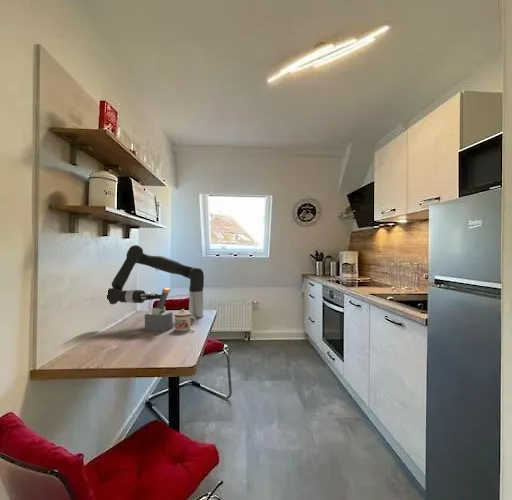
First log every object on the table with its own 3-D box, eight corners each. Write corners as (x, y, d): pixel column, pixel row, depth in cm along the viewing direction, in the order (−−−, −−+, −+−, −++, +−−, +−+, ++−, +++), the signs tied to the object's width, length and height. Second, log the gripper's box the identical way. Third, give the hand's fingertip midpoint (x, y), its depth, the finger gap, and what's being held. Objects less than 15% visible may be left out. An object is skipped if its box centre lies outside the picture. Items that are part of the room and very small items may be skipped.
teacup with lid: (173, 331, 198) (172, 310, 198) (176, 328, 207) (176, 308, 207) (194, 331, 198) (194, 310, 198) (197, 327, 207) (197, 307, 208)
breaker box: (144, 330, 202) (144, 308, 202) (154, 327, 211) (153, 305, 211) (164, 331, 199) (163, 309, 199) (172, 327, 208) (172, 306, 208)
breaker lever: (153, 311, 203) (163, 288, 201) (158, 310, 208) (167, 287, 206) (157, 313, 202) (166, 290, 201) (162, 312, 207) (170, 289, 206)
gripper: (128, 291, 202) (156, 291, 198) (141, 288, 215) (167, 288, 211) (128, 304, 202) (156, 304, 198) (141, 301, 215) (168, 301, 211)
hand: (162, 296), depth 204 cm, fingers closed
